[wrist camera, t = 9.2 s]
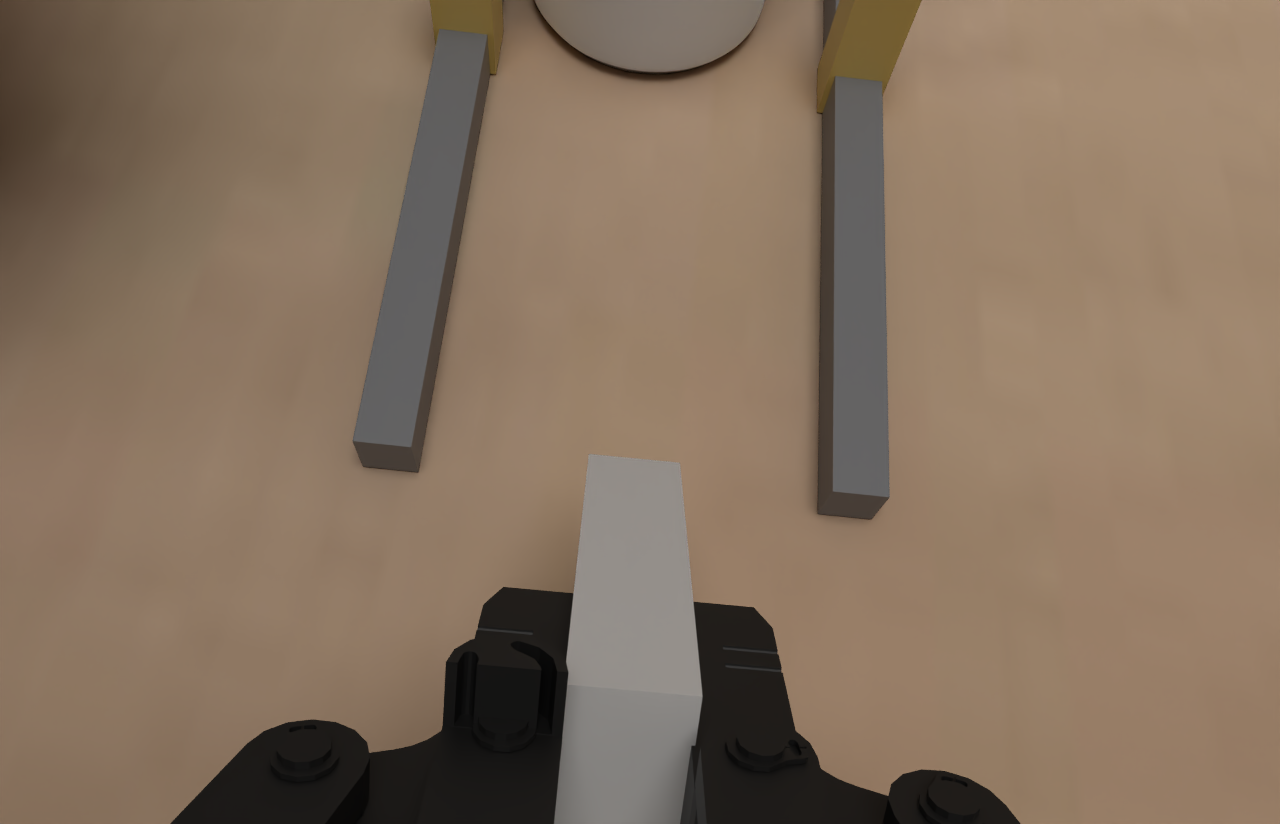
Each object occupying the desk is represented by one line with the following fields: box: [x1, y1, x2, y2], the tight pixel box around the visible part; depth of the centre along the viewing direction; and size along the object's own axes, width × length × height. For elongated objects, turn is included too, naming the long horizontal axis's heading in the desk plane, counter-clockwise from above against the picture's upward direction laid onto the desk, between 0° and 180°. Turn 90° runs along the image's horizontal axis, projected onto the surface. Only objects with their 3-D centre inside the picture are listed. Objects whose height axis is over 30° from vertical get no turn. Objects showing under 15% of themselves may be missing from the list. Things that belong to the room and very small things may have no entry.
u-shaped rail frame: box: [353, 0, 922, 519], centre depth 26 cm, size 13×19×5 cm
